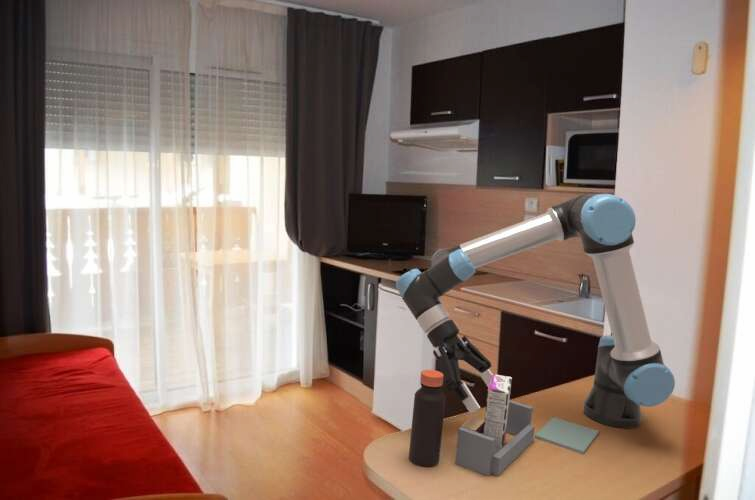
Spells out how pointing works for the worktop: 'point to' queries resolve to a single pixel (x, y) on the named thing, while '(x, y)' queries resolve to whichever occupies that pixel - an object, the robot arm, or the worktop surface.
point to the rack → (480, 448)
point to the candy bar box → (497, 409)
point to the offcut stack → (474, 425)
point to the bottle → (427, 420)
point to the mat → (567, 435)
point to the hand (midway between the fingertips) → (488, 402)
